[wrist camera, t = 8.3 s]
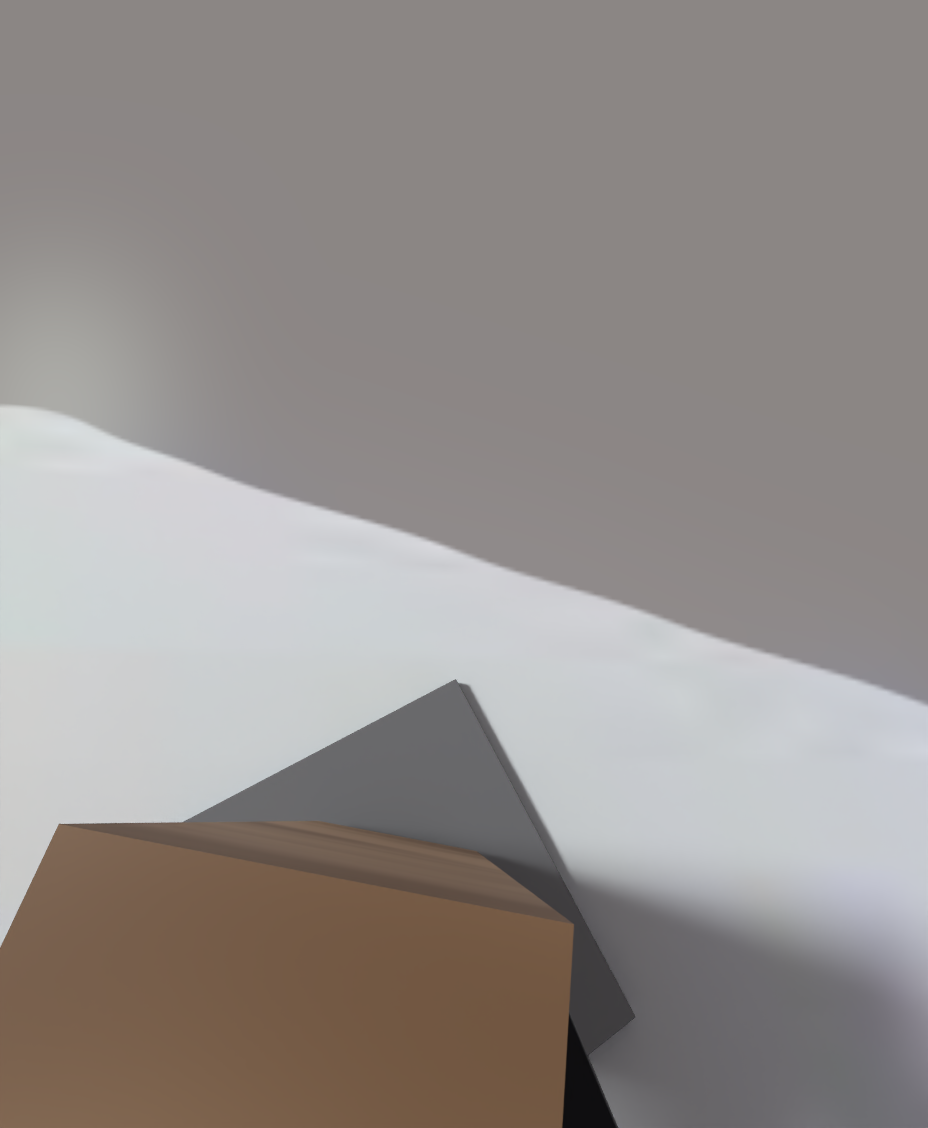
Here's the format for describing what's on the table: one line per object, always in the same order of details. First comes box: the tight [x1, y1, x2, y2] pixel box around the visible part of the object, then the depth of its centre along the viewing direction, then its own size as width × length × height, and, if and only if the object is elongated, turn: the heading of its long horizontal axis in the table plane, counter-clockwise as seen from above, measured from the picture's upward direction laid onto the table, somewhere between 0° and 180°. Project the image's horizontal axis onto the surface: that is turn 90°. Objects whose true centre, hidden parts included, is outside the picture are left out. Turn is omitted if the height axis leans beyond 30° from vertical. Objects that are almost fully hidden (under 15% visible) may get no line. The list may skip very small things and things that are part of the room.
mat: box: [184, 679, 635, 1055], centre depth 14 cm, size 10×10×1 cm
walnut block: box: [0, 821, 574, 1128], centre depth 8 cm, size 4×4×11 cm
